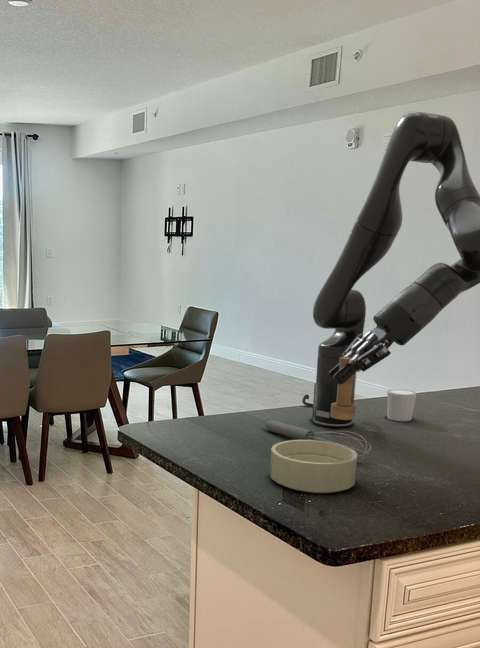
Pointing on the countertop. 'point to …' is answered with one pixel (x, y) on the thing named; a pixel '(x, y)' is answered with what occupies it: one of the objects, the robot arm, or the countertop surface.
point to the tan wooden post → (344, 397)
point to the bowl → (313, 466)
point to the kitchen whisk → (305, 433)
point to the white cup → (400, 404)
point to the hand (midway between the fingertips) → (334, 379)
